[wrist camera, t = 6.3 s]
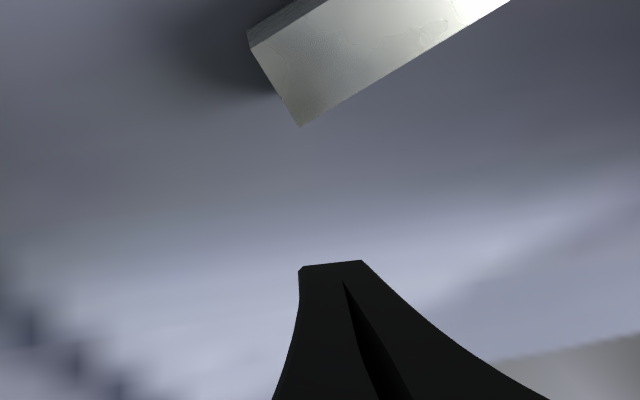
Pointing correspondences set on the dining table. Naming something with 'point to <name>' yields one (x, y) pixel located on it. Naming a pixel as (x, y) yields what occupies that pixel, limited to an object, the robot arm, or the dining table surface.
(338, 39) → the bar
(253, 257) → the dining table surface
